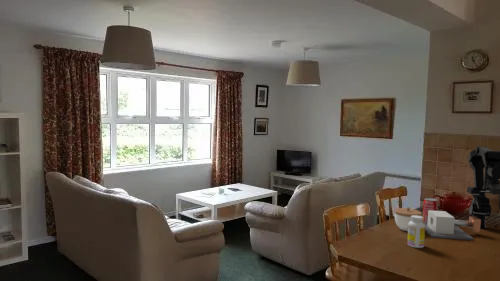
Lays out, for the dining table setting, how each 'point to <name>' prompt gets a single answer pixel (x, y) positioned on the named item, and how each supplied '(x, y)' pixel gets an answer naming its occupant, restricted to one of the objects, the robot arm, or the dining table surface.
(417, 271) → the dining table surface
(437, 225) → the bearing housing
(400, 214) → the lidded bowl
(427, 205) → the soda can
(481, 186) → the robot arm
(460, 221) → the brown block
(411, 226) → the supplement bottle
